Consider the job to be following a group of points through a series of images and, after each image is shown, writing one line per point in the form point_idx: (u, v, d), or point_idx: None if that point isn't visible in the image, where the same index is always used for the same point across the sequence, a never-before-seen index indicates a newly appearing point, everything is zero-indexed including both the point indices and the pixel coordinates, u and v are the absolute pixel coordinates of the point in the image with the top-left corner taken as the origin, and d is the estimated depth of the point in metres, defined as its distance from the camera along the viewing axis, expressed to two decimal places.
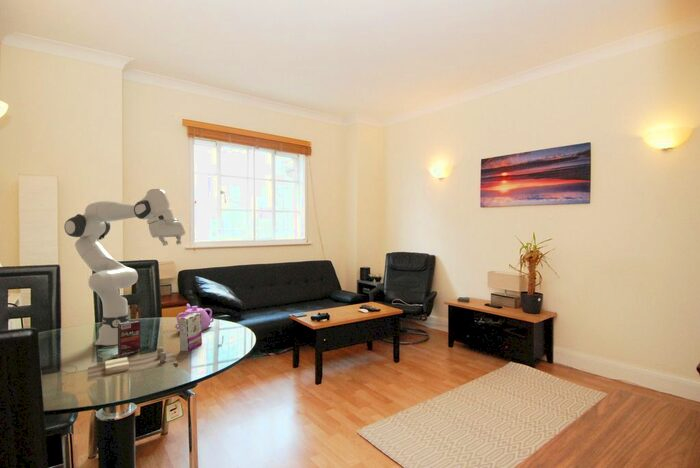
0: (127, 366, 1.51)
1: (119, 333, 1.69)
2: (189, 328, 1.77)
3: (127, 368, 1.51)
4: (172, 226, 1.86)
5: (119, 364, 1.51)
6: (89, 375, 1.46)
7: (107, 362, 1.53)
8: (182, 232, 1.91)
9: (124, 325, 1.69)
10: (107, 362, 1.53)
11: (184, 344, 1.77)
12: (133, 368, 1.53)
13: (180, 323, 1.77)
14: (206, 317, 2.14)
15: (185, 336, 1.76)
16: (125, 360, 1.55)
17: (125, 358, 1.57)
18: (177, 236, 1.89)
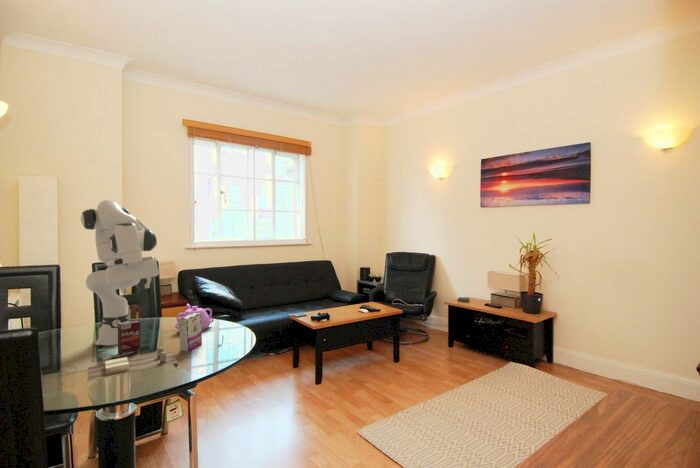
0: (127, 366, 1.51)
1: (119, 333, 1.69)
2: (189, 328, 1.77)
3: (127, 368, 1.51)
4: (139, 268, 1.58)
5: (119, 364, 1.51)
6: (89, 375, 1.46)
7: (107, 362, 1.53)
8: (153, 274, 1.62)
9: (124, 325, 1.69)
10: (107, 362, 1.53)
11: (184, 344, 1.77)
12: (133, 368, 1.53)
13: (180, 323, 1.77)
14: (206, 317, 2.14)
15: (185, 336, 1.76)
16: (125, 360, 1.55)
17: (125, 358, 1.57)
18: (147, 278, 1.61)
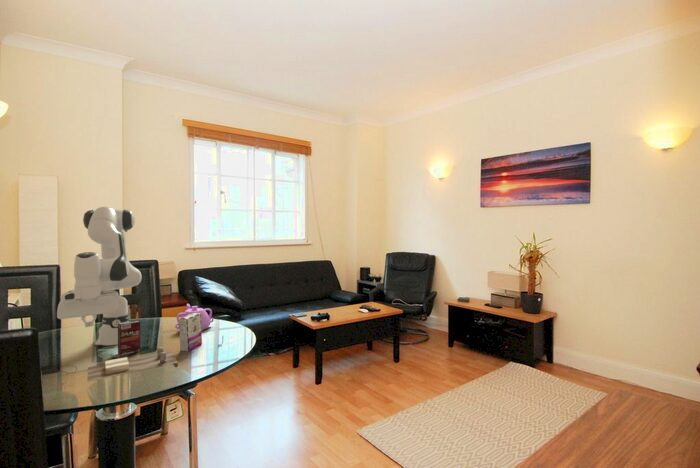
0: (127, 366, 1.51)
1: (119, 333, 1.69)
2: (189, 328, 1.77)
3: (127, 368, 1.51)
4: (94, 303, 1.47)
5: (119, 364, 1.51)
6: (89, 375, 1.46)
7: (107, 362, 1.53)
8: (111, 310, 1.50)
9: (124, 325, 1.69)
10: (107, 362, 1.53)
11: (184, 344, 1.77)
12: (133, 368, 1.53)
13: (180, 323, 1.77)
14: (206, 317, 2.14)
15: (185, 336, 1.76)
16: (125, 360, 1.55)
17: (125, 358, 1.57)
18: (92, 315, 1.48)
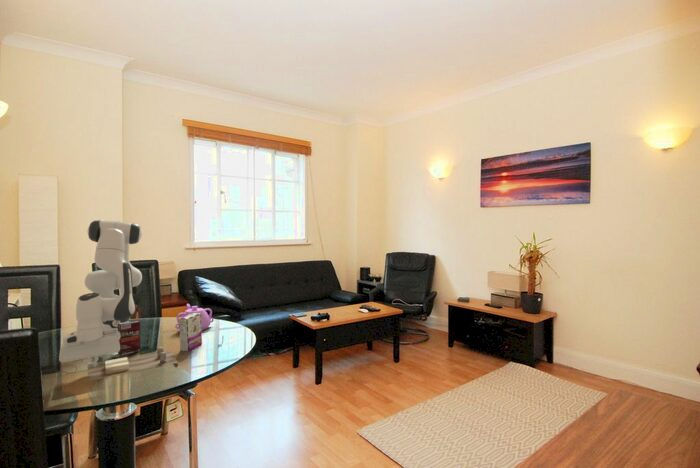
0: (127, 366, 1.51)
1: None
2: (189, 328, 1.77)
3: (127, 368, 1.51)
4: (96, 344, 1.47)
5: (119, 364, 1.51)
6: (89, 375, 1.46)
7: (107, 362, 1.53)
8: (113, 350, 1.50)
9: (124, 325, 1.69)
10: (107, 362, 1.53)
11: (184, 344, 1.77)
12: (133, 368, 1.53)
13: (180, 323, 1.77)
14: (206, 317, 2.14)
15: (185, 336, 1.76)
16: (125, 360, 1.55)
17: (125, 358, 1.57)
18: (94, 356, 1.48)
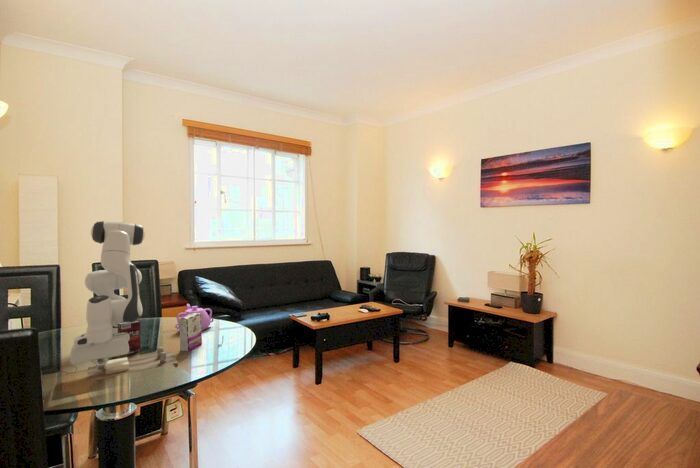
0: (127, 366, 1.51)
1: None
2: (189, 328, 1.77)
3: (127, 368, 1.51)
4: (106, 346, 1.50)
5: (119, 364, 1.51)
6: (89, 375, 1.46)
7: (107, 362, 1.53)
8: (122, 352, 1.53)
9: (124, 325, 1.69)
10: (107, 362, 1.53)
11: (184, 344, 1.77)
12: (133, 368, 1.53)
13: (180, 323, 1.77)
14: (206, 317, 2.14)
15: (185, 336, 1.76)
16: (125, 360, 1.55)
17: (125, 358, 1.57)
18: (104, 358, 1.50)
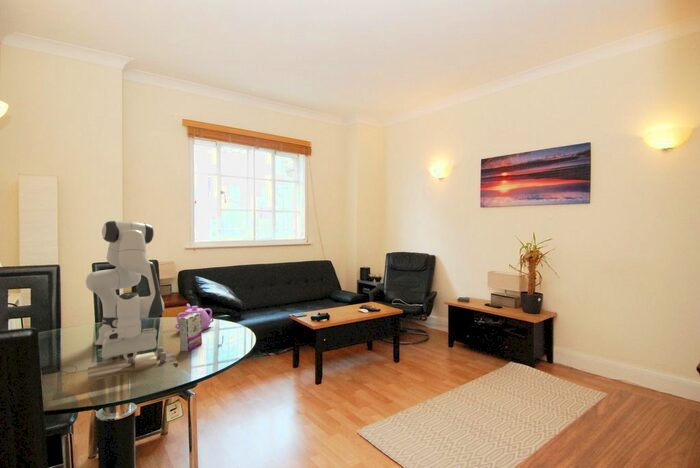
0: (155, 360, 1.57)
1: None
2: (189, 328, 1.77)
3: (155, 362, 1.57)
4: (135, 341, 1.56)
5: (147, 358, 1.56)
6: (89, 375, 1.46)
7: (135, 357, 1.59)
8: (150, 347, 1.59)
9: None
10: None
11: (184, 344, 1.77)
12: (133, 368, 1.53)
13: (180, 323, 1.77)
14: (206, 317, 2.14)
15: (185, 336, 1.76)
16: (152, 355, 1.61)
17: (152, 353, 1.63)
18: (133, 352, 1.56)
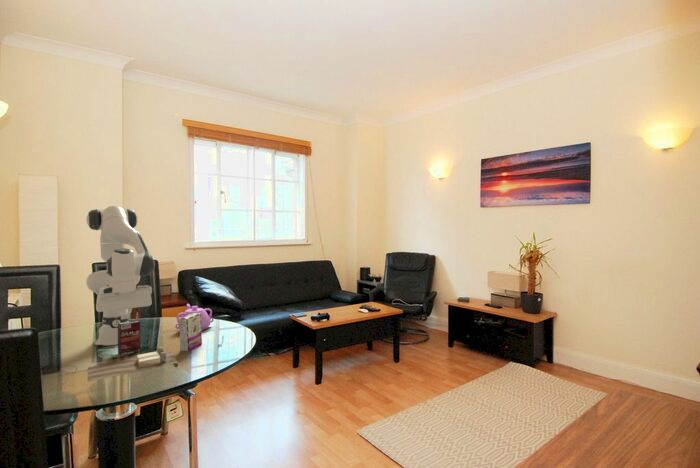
0: (159, 360, 1.58)
1: (119, 333, 1.69)
2: (189, 328, 1.77)
3: (159, 362, 1.58)
4: (130, 297, 1.54)
5: (151, 358, 1.57)
6: (89, 375, 1.46)
7: (139, 356, 1.60)
8: (145, 304, 1.57)
9: (124, 325, 1.69)
10: (139, 356, 1.60)
11: (184, 344, 1.77)
12: (133, 368, 1.53)
13: (180, 323, 1.77)
14: (206, 317, 2.14)
15: (185, 336, 1.76)
16: (156, 354, 1.62)
17: (156, 352, 1.64)
18: (128, 308, 1.55)
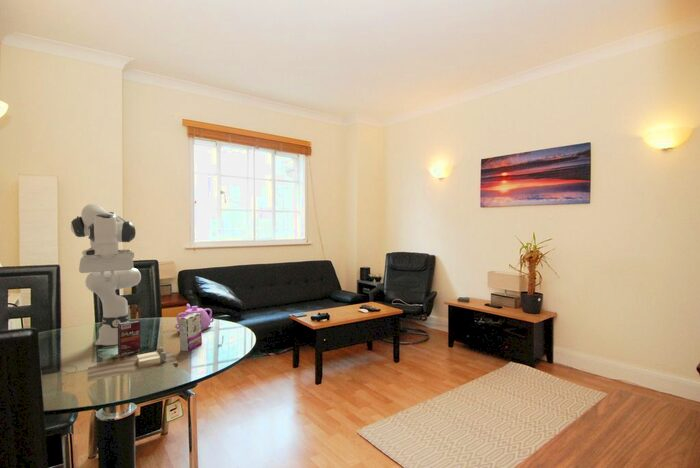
0: (159, 360, 1.58)
1: (119, 333, 1.69)
2: (189, 328, 1.77)
3: (159, 362, 1.58)
4: (112, 260, 1.61)
5: (151, 358, 1.57)
6: (89, 375, 1.46)
7: (139, 356, 1.60)
8: (127, 267, 1.64)
9: (124, 325, 1.69)
10: (139, 356, 1.60)
11: (184, 344, 1.77)
12: (133, 368, 1.53)
13: (180, 323, 1.77)
14: (206, 317, 2.14)
15: (185, 336, 1.76)
16: (156, 354, 1.62)
17: (156, 352, 1.64)
18: (110, 271, 1.62)
